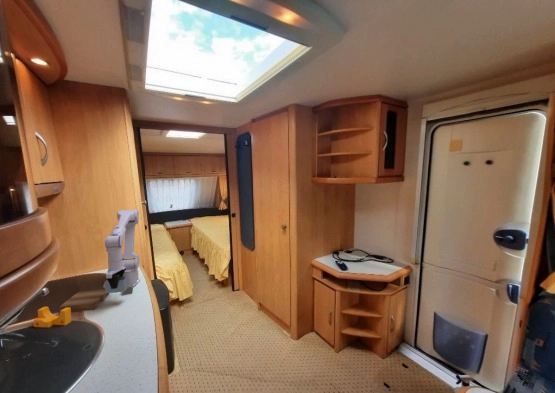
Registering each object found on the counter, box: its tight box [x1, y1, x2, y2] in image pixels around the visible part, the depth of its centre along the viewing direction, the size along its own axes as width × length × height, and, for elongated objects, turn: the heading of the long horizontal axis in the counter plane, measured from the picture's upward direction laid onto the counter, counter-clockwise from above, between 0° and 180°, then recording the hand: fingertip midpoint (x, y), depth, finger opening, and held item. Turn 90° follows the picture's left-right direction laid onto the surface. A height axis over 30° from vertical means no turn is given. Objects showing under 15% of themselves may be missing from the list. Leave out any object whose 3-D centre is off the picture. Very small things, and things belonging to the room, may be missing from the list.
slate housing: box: [102, 276, 128, 294], centre depth 110 cm, size 4×9×6 cm, turn 103°
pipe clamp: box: [33, 306, 72, 328], centre depth 95 cm, size 12×4×6 cm, turn 88°
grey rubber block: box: [122, 284, 134, 296], centre depth 121 cm, size 4×4×4 cm
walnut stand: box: [58, 289, 110, 314], centre depth 111 cm, size 14×14×3 cm
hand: (116, 286), depth 111 cm, fingers closed on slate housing, 4 cm apart
